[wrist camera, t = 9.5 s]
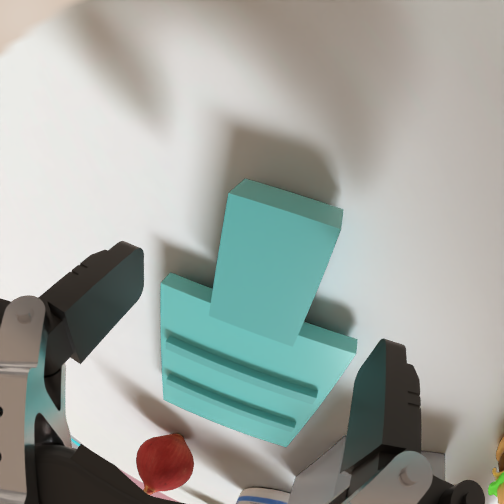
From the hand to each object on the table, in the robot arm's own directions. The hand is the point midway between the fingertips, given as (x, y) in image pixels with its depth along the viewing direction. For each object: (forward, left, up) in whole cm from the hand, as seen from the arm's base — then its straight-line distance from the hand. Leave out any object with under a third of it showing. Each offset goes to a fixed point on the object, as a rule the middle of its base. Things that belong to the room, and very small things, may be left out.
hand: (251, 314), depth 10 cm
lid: (0, +7, -5) cm, 8 cm away
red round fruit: (+4, +26, -5) cm, 27 cm away
